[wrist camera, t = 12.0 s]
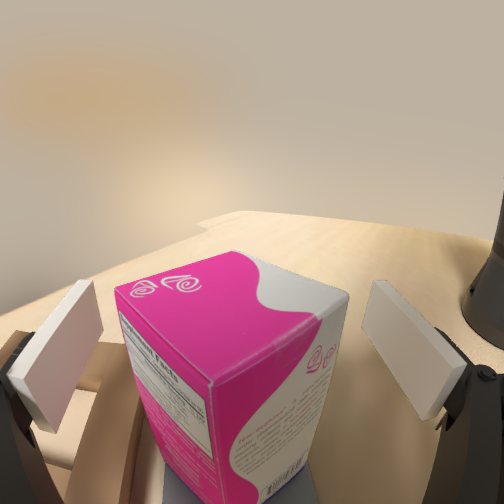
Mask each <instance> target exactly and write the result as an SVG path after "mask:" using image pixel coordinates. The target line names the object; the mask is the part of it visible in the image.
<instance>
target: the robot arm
mask: <svg viewBox="0 0 504 504" xmlns="http://www.w3.org/2000/svg"><path fill="white" fill-rule="evenodd" d="M462 312H463V315H464V317H465V319H466V320H467V322H468V323H469V325H470V326H471V327H472V328H473V329H474V330H475V331H476V332H477V333H478V334H480V335H481V336H482V337H483V338H485V339H486V340H487V341H489V342H490V343H492V344H494V345H495V346H497V347H499V348H501V349H503V350H504V194H503V200H502V205H501V211H500V216H499V220H498V225H497V230H496V234H495V238H494V243H493V247H492V250H491V253H490V256H489V257H488V259H487V261H486V262H485V264H484V265H483V267H482V269H481V270H480V272H479V273H478V275H477V276H476V278H475V279H474V281H473V282H472V284H471V285H470V287H469V288H468V290H467V292H466V295H465V298H464V301H463V304H462ZM361 328H362V329H363V331H364V332H365V334H366V335H367V337H368V338H369V340H370V341H371V343H372V344H373V346H374V347H375V349H376V350H377V352H378V353H379V355H380V356H381V358H382V359H383V361H384V362H385V364H386V365H387V367H388V368H389V370H390V371H391V373H392V374H393V376H394V377H395V379H396V381H397V382H398V384H399V385H400V387H401V388H402V390H403V392H404V393H405V395H406V396H407V398H408V399H409V401H410V403H411V404H412V406H413V407H414V409H415V411H416V412H417V414H418V416H419V417H420V419H421V420H422V421H425V420H428V419H430V418H433V417H436V416H437V415H438V413H439V412H440V410H441V409H442V407H443V406H444V407H445V409H446V410H447V412H446V413H445V415H444V416H443V418H442V419H441V421H440V422H439V424H438V425H437V427H436V429H435V430H438V429H439V427H440V426H441V425H442V428H441V434H440V439H439V443H438V448H437V452H436V457H435V461H434V465H433V469H432V472H431V476H430V480H429V483H428V486H427V490H426V493H425V496H424V499H423V502H422V504H504V374H497V373H496V372H495V371H494V370H493V369H492V368H491V367H489V366H486V365H481V364H479V365H474V364H473V363H472V362H471V361H470V360H469V358H468V357H467V356H466V355H465V354H464V353H463V352H462V351H461V350H460V349H459V348H458V347H456V344H455V343H454V342H453V341H451V339H450V338H449V337H448V336H447V335H446V334H445V333H444V332H442V331H441V330H439V329H438V328H436V327H433V326H432V325H431V324H430V323H429V322H428V321H427V320H426V319H425V318H424V317H423V316H422V315H421V314H420V313H419V312H418V311H417V310H416V309H415V308H414V307H413V306H412V305H411V304H410V303H409V302H408V301H407V300H406V299H405V298H404V297H403V296H402V295H401V294H400V293H399V292H398V291H397V290H396V289H395V288H394V287H393V286H392V285H391V284H390V283H389V282H388V281H387V280H375V281H373V283H372V288H371V292H370V296H369V300H368V304H367V308H366V312H365V316H364V320H363V324H362V327H361ZM103 330H104V329H103V325H102V321H101V317H100V312H99V308H98V303H97V299H96V294H95V289H94V284H93V280H78V281H77V282H76V284H75V285H74V286H73V287H72V288H71V289H70V291H69V292H68V293H67V294H66V295H65V297H64V298H63V299H62V300H61V301H60V303H59V304H58V305H57V306H56V308H55V309H54V310H53V311H52V312H51V314H50V315H49V316H48V318H47V319H46V320H45V321H44V323H43V324H42V325H41V327H40V328H39V329H38V330H37V332H31V333H30V334H29V335H27V336H26V337H24V338H23V339H22V341H21V342H20V343H19V345H18V346H17V348H16V349H15V350H14V351H13V354H12V355H11V356H10V357H9V358H8V360H7V361H6V362H5V364H4V365H3V367H2V368H1V370H0V504H64V502H63V500H62V498H61V496H60V494H59V492H58V490H57V488H56V486H55V484H54V482H53V480H52V478H51V475H50V473H49V471H48V469H47V466H46V464H45V462H44V459H43V457H42V454H41V452H40V449H39V447H38V444H37V441H36V438H35V436H34V433H33V431H32V429H31V428H30V424H31V422H32V420H33V421H34V422H35V423H36V425H37V426H38V428H39V429H40V430H43V431H47V432H50V433H53V434H56V433H57V431H58V428H59V426H60V423H61V421H62V418H63V416H64V414H65V411H66V409H67V406H68V404H69V402H70V399H71V397H72V395H73V393H74V390H75V388H76V386H77V384H78V381H79V379H80V377H81V375H82V373H83V371H84V368H85V366H86V364H87V362H88V360H89V358H90V356H91V354H92V352H93V350H94V348H95V346H96V344H97V342H98V340H99V338H100V336H101V334H102V332H103Z"/></svg>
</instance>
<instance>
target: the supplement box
mask: <svg viewBox="0 0 504 504" xmlns="http://www.w3.org/2000/svg"><path fill="white" fill-rule="evenodd" d="M114 293H115V300H116V305H117V310H118V315H119V320H120V325H121V329H122V333H123V337H124V341H125V345H126V349H127V353H128V356H129V360H130V364H131V367H132V371H133V375H134V378H135V381H136V385H137V388H138V391H139V394H140V397H141V400H142V403H143V406H144V409H145V412H146V415H147V418H148V420H149V423H150V426H151V429H152V432H153V434H154V437H155V439H156V442H157V444H158V447H159V450H160V452H161V454H162V457H163V459H164V461H165V462H166V464H167V465H168V466H169V467H170V468H171V469H172V471H173V472H174V473H175V474H176V475H177V476H178V477H179V478H180V480H181V481H182V482H183V483H184V484H185V485H186V486H187V487H188V488H189V489H190V490H191V491H192V492H193V493H194V494H195V496H196V497H197V498H198V499H199V500H200V501H201V502H202V503H204V504H264V503H265V502H266V501H267V500H269V499H270V498H271V497H272V496H274V495H275V494H276V493H277V492H278V491H280V490H281V489H282V488H283V487H284V486H285V485H286V484H287V483H289V482H290V481H291V480H292V479H293V478H294V477H295V476H296V475H297V474H298V473H299V472H300V471H301V470H302V469H303V468H304V467H305V462H306V460H307V456H308V453H309V450H310V447H311V444H312V441H313V438H314V435H315V432H316V429H317V426H318V422H319V419H320V416H321V413H322V409H323V406H324V402H325V399H326V395H327V392H328V388H329V385H330V381H331V377H332V373H333V369H334V365H335V361H336V356H337V352H338V348H339V344H340V339H341V335H342V330H343V326H344V321H345V316H346V311H347V306H348V301H349V294H348V293H347V292H345V291H343V290H340V289H338V288H335V287H332V286H329V285H326V284H323V283H321V282H318V281H315V280H313V279H310V278H307V277H304V276H301V275H298V274H296V273H293V272H290V271H288V270H285V269H283V268H280V267H277V266H275V265H272V264H270V263H267V262H265V261H263V260H260V259H258V258H255V257H253V256H250V255H248V254H245V253H243V252H240V251H237V250H233V251H230V252H227V253H224V254H221V255H217V256H214V257H211V258H208V259H205V260H201V261H198V262H195V263H192V264H188V265H185V266H182V267H179V268H175V269H172V270H169V271H166V272H163V273H159V274H156V275H153V276H150V277H146V278H143V279H140V280H137V281H134V282H131V283H127V284H124V285H121V286H117V287H115V288H114Z"/></svg>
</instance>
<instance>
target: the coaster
mask: <svg viewBox="0 0 504 504" xmlns="http://www.w3.org/2000/svg"><path fill="white" fill-rule="evenodd" d="M162 504H204V503H202V502H201V501H200V500H199V499H198V498H197V497H196V496H195V494H194V493H193V492H192V491H191V490H190V489H189V488H188V487H187V486H186V485H185V484H184V483H183V482H182V481H181V480H180V478H179V477H178V476H177V475H176V474H175V473H174V472H173V471H172V469H171V468H170V467H169V466H168V465H167V464H166V463H165V474H164V487H163V502H162ZM264 504H319V502H318V498H317V494H316V491H315V487H314V483H313V480H312V476H311V472H310V469H309V465H308V461H307V460H306V462H305V467H304V468H303V469H302V470H301V471H300V472H299V473H298V474H297V475H296V476H295V477H294V478H293V479H292V480H291V481H290V482H289V483H287V484H286V485H285V486H284V487H283V488H282V489H281V490H280V491H278V492H277V493H276V494H275V495H274V496H272V497H271V498H270V499H269V500H267V501H266V502H265V503H264Z"/></svg>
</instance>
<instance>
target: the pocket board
mask: <svg viewBox="0 0 504 504" xmlns="http://www.w3.org/2000/svg"><path fill="white" fill-rule="evenodd" d="M29 334H30V333H29V332H23V331H17V330H16V331H15V332H14V333H13V334H12V336H11V337H10V338H9V339H8V341H7V342H6V343H5V344H4V346H3V347H2V348H1V350H0V370H1V368H2V367H3V365H4V364H5V362H6V361H7V360H8V358H9V357H10V356H11V355H12V354H13V351H14V350H15V349H16V348H17V346H18V345H19V343H20V342H21V341H22V339H23V338H24V337H26V336H27V335H29ZM75 389H80V390H86V391H92V392H97V395H96V398H95V400H94V403H93V406H92V409H91V411H90V414H89V417H88V420H87V423H86V426H85V429H84V432H83V435H82V438H81V441H80V444H79V447H78V451H77V454H76V457H75V461H74V464H73V467H72V471H71V470H68V469H64V468H61V467H58V466H54V465H51V464H48V463H45V464H46V466H47V469H48V471H49V473H50V475H51V478H52V480H53V482H54V484H55V486H56V488H57V490H58V492H59V494H60V496H61V498H62V500H63V502H64V504H130V497H131V490H132V483H133V476H134V469H135V463H136V457H137V451H138V445H139V440H140V434H141V429H142V423H143V418H144V413H145V409H144V406H143V403H142V400H141V397H140V394H139V391H138V388H137V385H136V381H135V378H134V375H133V371H132V367H131V364H130V360H129V356H128V353H127V349H126V345H125V344H118V343H107V342H97V344H96V346H95V348H94V350H93V352H92V354H91V356H90V358H89V360H88V362H87V364H86V366H85V368H84V371H83V373H82V375H81V377H80V379H79V381H78V384H77V386H76V388H75Z"/></svg>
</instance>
